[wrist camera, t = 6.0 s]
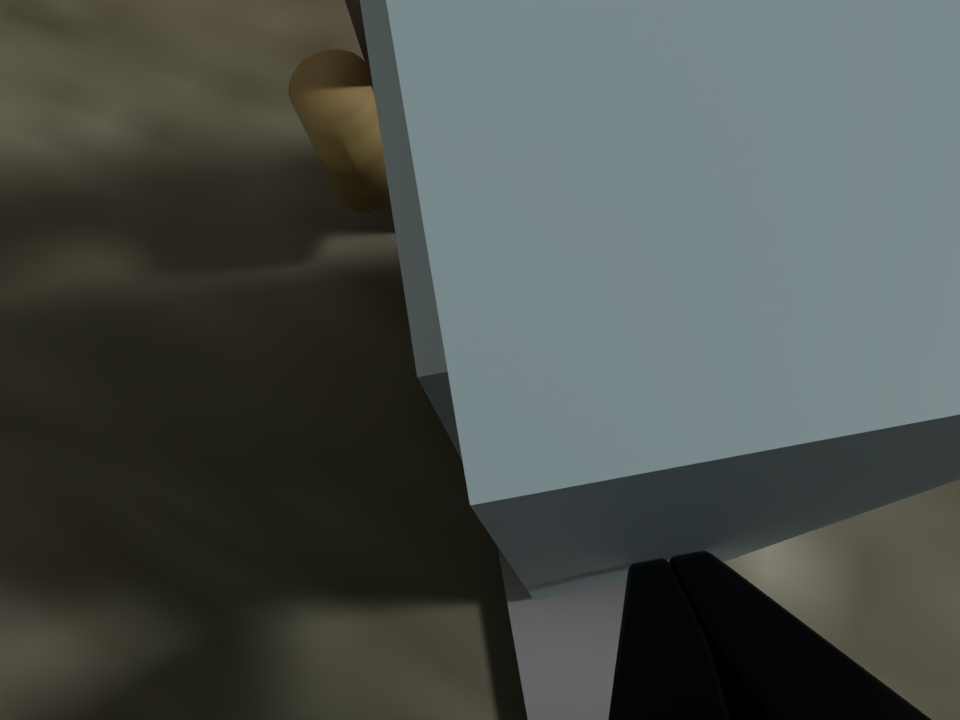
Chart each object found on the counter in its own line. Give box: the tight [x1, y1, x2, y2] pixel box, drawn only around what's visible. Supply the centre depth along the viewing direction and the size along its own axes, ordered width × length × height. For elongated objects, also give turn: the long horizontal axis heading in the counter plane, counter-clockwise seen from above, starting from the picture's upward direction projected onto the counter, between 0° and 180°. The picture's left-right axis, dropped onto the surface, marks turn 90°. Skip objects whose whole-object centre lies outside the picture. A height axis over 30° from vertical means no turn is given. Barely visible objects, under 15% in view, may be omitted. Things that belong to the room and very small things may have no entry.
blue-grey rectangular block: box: [360, 0, 960, 600], centre depth 9 cm, size 7×3×12 cm, turn 10°
